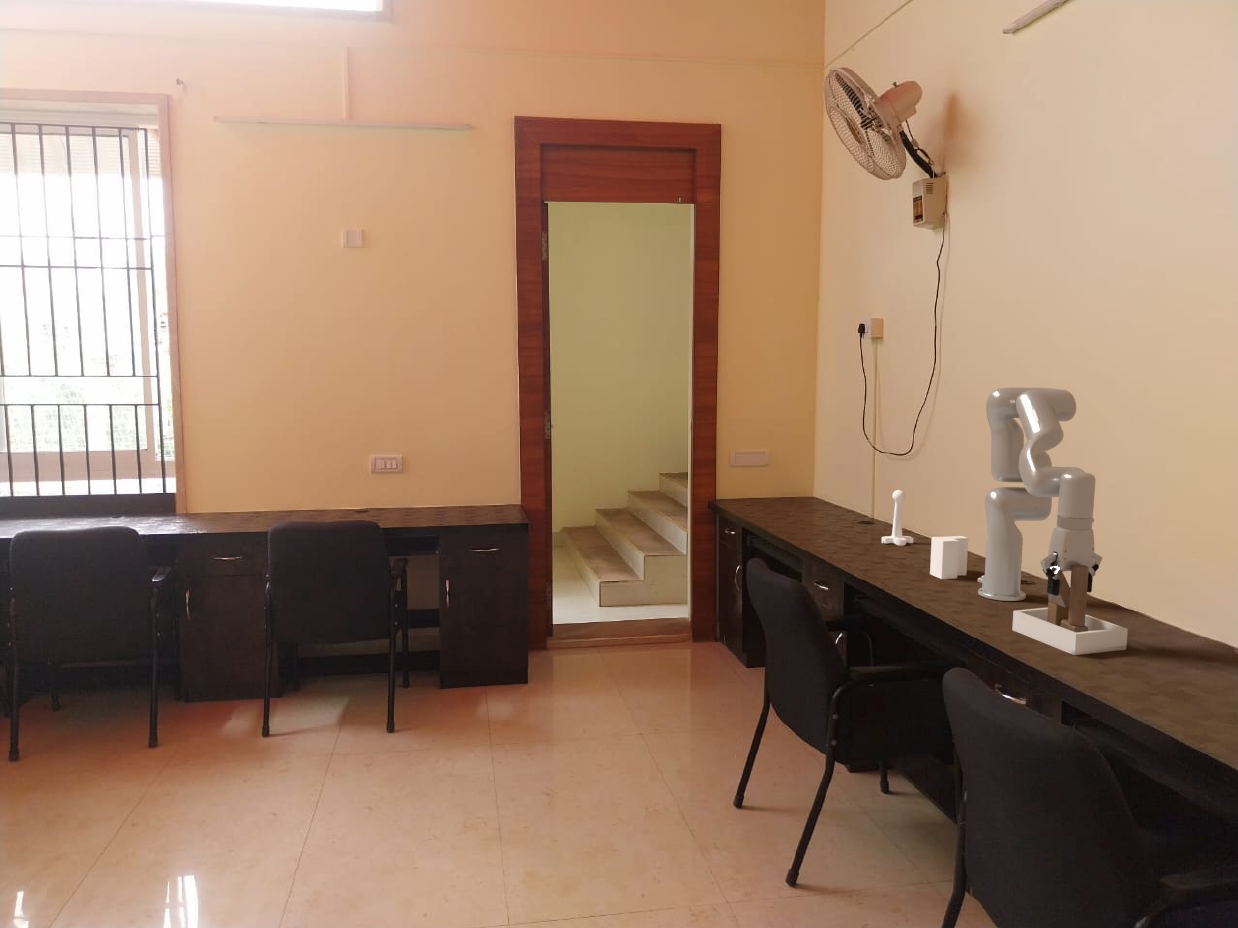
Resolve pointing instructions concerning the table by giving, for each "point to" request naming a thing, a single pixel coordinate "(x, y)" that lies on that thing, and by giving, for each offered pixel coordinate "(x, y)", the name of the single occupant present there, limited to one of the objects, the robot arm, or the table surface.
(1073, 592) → the brown rod with wedge
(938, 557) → the corner bracket
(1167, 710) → the table surface
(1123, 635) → the tray
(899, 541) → the joystick
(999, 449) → the robot arm
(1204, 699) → the table surface
